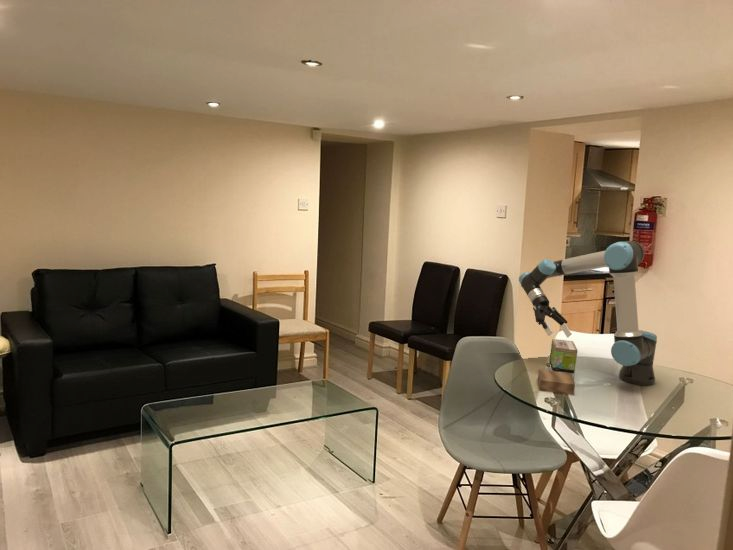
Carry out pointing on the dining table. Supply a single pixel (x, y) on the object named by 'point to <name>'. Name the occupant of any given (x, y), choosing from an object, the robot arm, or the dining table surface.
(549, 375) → the walnut block
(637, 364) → the robot arm
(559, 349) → the tea box
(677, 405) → the dining table surface
